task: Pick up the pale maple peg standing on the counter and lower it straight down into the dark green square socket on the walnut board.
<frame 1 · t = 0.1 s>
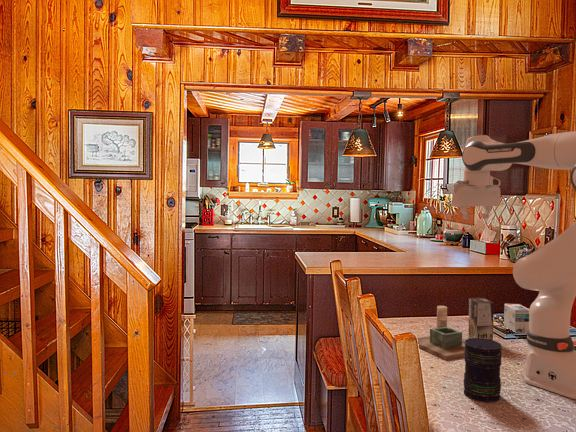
hand: (475, 218, 174), 48 cm above the table, tool pointing down, fingers open, 8 cm apart
peg: (441, 330, 198), on the table
light bulb box: (516, 332, 196), on the table
coffee box: (480, 341, 184), on the table
holder: (445, 347, 176), on the table
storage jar: (481, 395, 136), on the table
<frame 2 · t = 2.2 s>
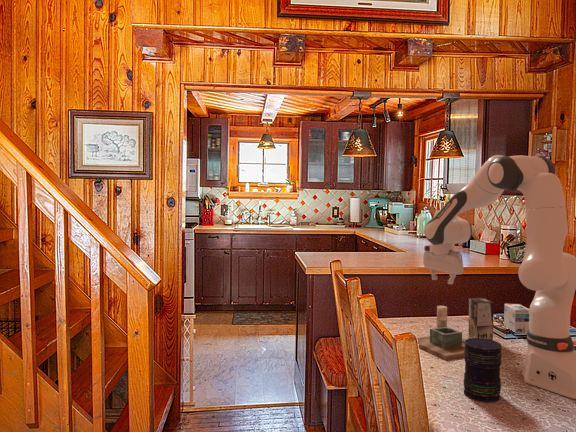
hand: (442, 281, 197), 20 cm above the table, tool pointing down, fingers open, 8 cm apart
nothing on the table moved.
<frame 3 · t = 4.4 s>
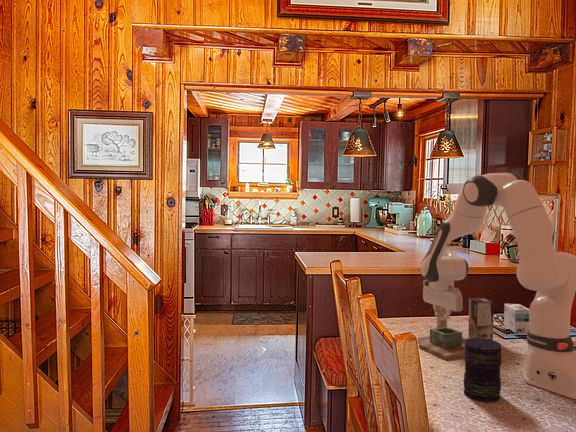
hand: (441, 317, 198), 6 cm above the table, tool pointing down, fingers closed on peg, 4 cm apart
peg: (441, 330, 198), on the table, touching gripper
everything else where it was.
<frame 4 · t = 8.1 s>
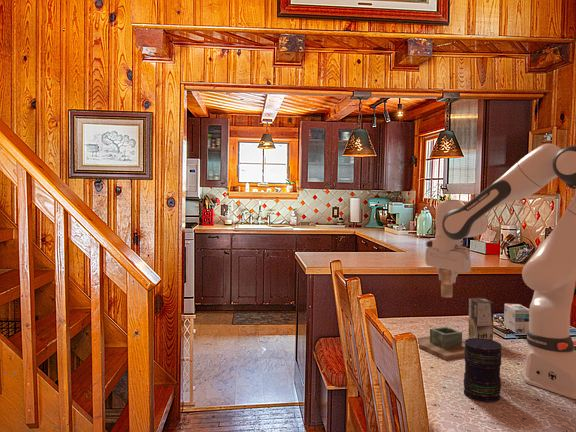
hand: (447, 281, 175), 25 cm above the table, tool pointing down, fingers closed on peg, 4 cm apart
peg: (446, 296, 175), point 19 cm above the table, touching gripper
everything else where it was.
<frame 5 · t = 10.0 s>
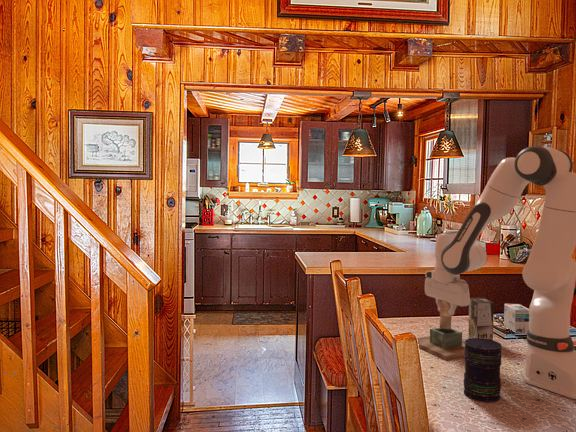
hand: (445, 312, 176), 13 cm above the table, tool pointing down, fingers closed on peg, 4 cm apart
peg: (445, 327, 176), point 8 cm above the table, touching gripper
everything else where it was.
when the fingers open (9 cm above the table, at t = 11.7 s): peg drops 1 cm, resting on holder.
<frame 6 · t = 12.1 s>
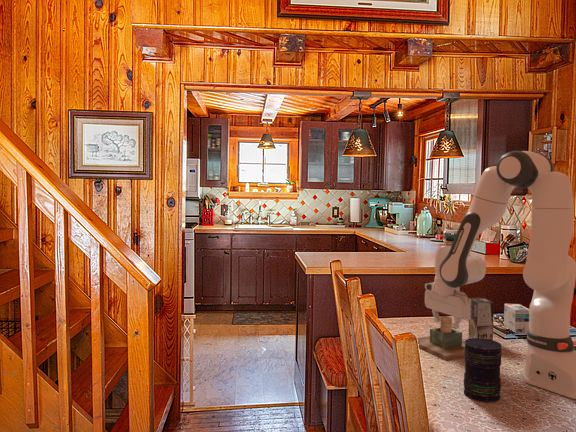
hand: (446, 325, 176), 9 cm above the table, tool pointing down, fingers open, 8 cm apart
peg: (445, 344, 176), point 2 cm above the table, touching holder
everything else where it was.
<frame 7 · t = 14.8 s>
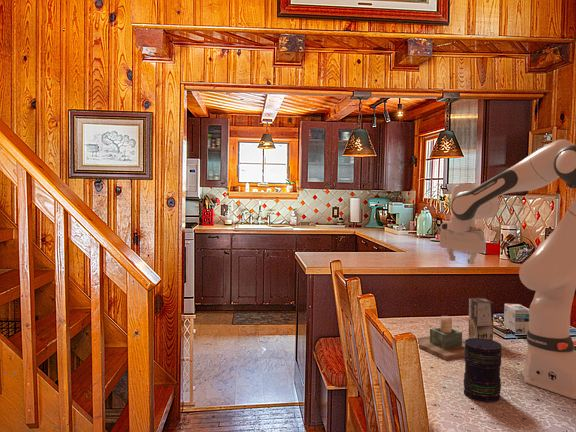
hand: (461, 262, 182), 31 cm above the table, tool pointing down, fingers open, 8 cm apart
nothing on the table moved.
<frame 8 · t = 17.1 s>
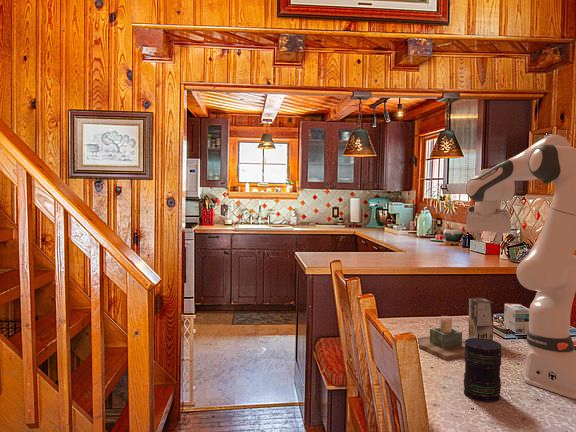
hand: (487, 242, 194), 37 cm above the table, tool pointing down, fingers open, 8 cm apart
nothing on the table moved.
at the end: peg 0.1 cm off-centre on the holder, point 1.5 cm above the holder's base; peg tilted 1°; the gripper is holding nothing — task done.
